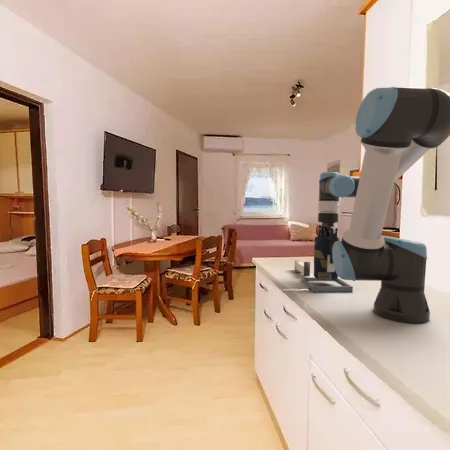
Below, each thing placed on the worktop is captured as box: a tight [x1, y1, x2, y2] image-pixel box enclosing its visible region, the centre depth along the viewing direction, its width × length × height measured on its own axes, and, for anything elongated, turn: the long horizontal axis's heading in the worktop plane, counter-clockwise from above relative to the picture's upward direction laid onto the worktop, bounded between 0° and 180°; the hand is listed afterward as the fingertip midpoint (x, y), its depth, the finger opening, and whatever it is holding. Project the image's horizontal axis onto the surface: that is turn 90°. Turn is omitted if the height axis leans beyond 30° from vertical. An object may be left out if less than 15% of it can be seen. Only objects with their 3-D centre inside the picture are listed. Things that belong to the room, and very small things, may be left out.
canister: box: [313, 234, 341, 280], centre depth 130 cm, size 10×10×18 cm
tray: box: [300, 277, 354, 294], centre depth 131 cm, size 15×16×2 cm
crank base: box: [290, 269, 302, 274], centre depth 154 cm, size 6×6×1 cm
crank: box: [293, 259, 311, 277], centre depth 148 cm, size 16×4×7 cm, turn 3°
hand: (325, 268), depth 130 cm, fingers closed on canister, 9 cm apart
